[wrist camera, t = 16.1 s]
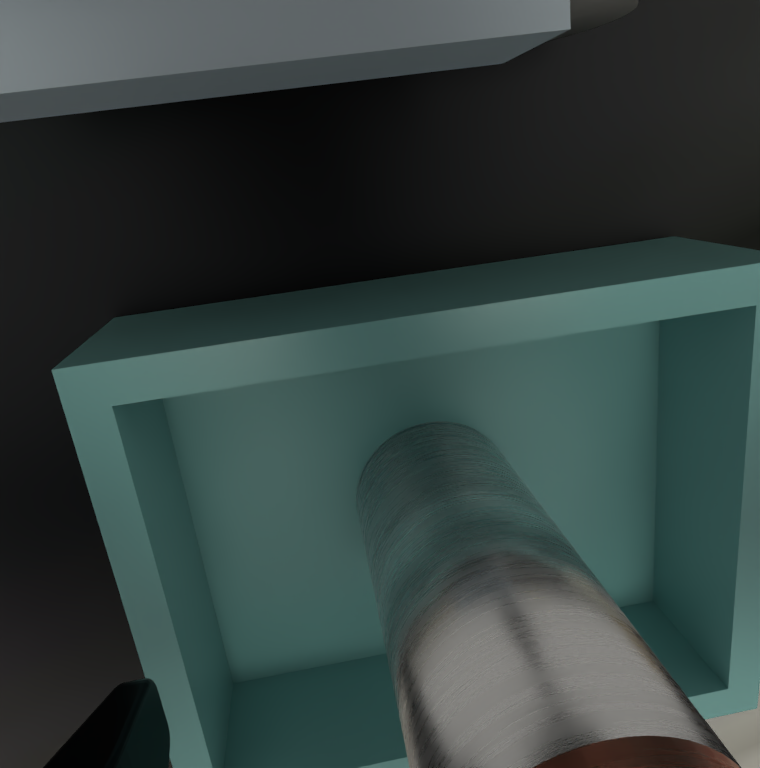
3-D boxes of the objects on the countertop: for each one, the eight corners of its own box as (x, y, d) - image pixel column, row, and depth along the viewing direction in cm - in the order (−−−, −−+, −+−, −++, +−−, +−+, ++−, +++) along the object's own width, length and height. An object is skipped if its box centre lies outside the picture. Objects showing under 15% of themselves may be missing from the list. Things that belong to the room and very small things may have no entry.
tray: (114, 317, 11) (51, 369, 8) (674, 236, 12) (799, 257, 9) (212, 690, 14) (192, 830, 11) (663, 600, 15) (757, 708, 12)
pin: (345, 435, 12) (450, 919, 4) (505, 409, 12) (880, 818, 4) (367, 575, 13) (483, 1170, 5) (514, 547, 13) (832, 1075, 5)
